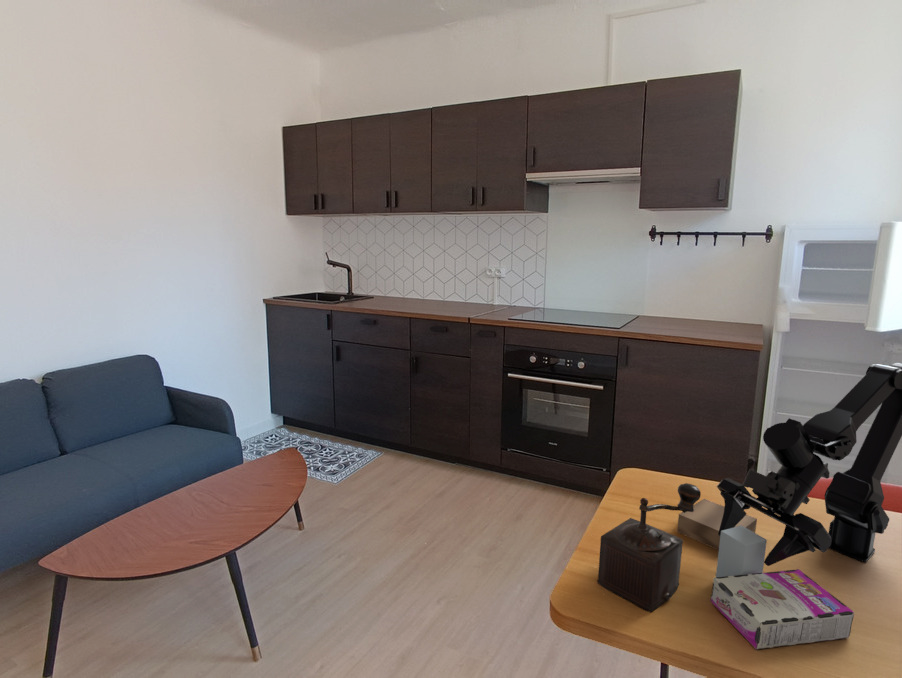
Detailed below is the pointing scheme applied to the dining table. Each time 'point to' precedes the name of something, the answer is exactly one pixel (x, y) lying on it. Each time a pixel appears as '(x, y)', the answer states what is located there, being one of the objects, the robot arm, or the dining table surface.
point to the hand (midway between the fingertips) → (741, 549)
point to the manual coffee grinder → (644, 556)
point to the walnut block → (708, 523)
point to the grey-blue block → (740, 552)
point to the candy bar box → (781, 608)
